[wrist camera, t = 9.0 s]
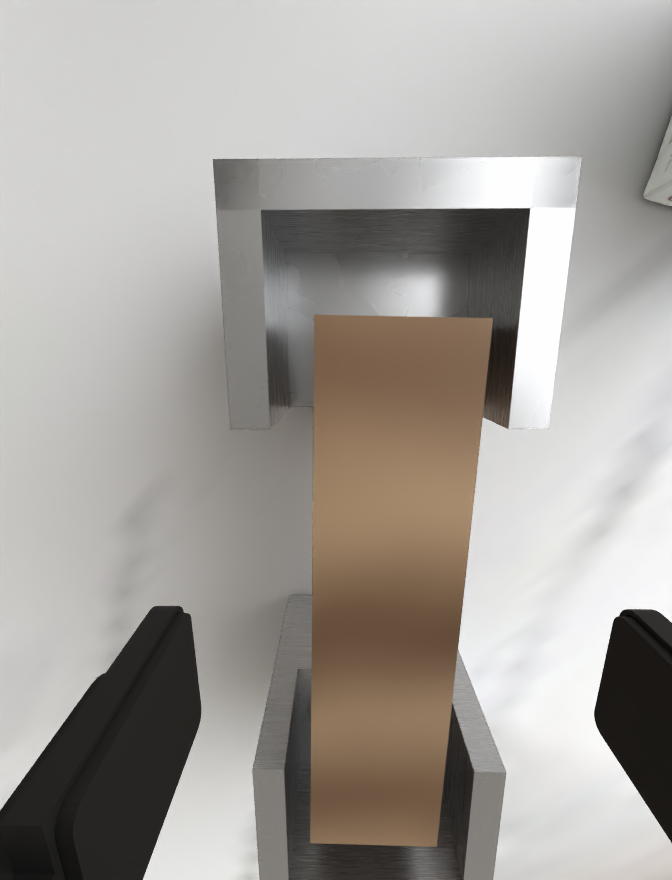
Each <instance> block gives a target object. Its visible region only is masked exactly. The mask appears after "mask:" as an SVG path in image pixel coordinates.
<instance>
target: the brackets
mask: <svg viewBox="0 0 672 880" xmlns="http://www.w3.org/2000/svg"><path fill="white" fill-rule="evenodd" d="M581 162H582V156H562V157H442V158H321V159H213V168H214V183H215V198H216V214H217V229H218V245H219V260H220V276H221V291H222V306H223V322H224V337H225V353H226V368H227V384H228V399H229V415H230V429H270V428H271V427H272V426H273V425H274V424H275V423H276V422H277V421H278V419H279V418H280V417H281V416H282V415H283V414H284V413H285V412H286V411H287V409H288V408H289V407H314V315H361V316H411V317H460V318H493V324H492V333H491V343H490V352H489V362H488V371H487V380H486V390H485V399H484V408H483V417H484V418H486V419H488V420H490V421H493V422H495V423H497V424H499V425H501V426H503V427H505V428H507V429H549V422H550V414H551V406H552V397H553V389H554V381H555V373H556V365H557V357H558V349H559V341H560V333H561V324H562V316H563V308H564V300H565V292H566V284H567V276H568V268H569V260H570V251H571V243H572V235H573V227H574V219H575V211H576V203H577V195H578V186H579V178H580V170H581ZM311 679H312V595H289V598H288V603H287V608H286V613H285V617H284V622H283V627H282V632H281V636H280V641H279V646H278V651H277V655H276V660H275V665H274V670H273V674H272V679H271V684H270V689H269V693H268V698H267V703H266V708H265V712H264V717H263V722H262V727H261V731H260V736H259V741H258V746H257V750H256V755H255V760H254V765H253V769H252V770H253V785H254V801H255V816H256V831H257V847H258V862H259V878H260V880H493V876H494V868H495V860H496V852H497V844H498V836H499V828H500V819H501V811H502V803H503V795H504V787H505V779H506V770H505V768H504V765H503V762H502V760H501V757H500V755H499V752H498V750H497V747H496V745H495V742H494V740H493V737H492V734H491V732H490V729H489V727H488V724H487V722H486V719H485V717H484V714H483V712H482V709H481V706H480V704H479V701H478V699H477V696H476V694H475V691H474V689H473V686H472V684H471V681H470V678H469V676H468V673H467V671H466V668H465V666H464V663H463V661H462V658H461V656H460V653H459V650H458V652H457V661H456V671H455V680H454V689H453V699H452V708H451V718H450V727H449V736H448V746H447V755H446V764H445V774H444V783H443V793H442V802H441V811H440V821H439V830H438V839H437V847H425V846H391V845H357V844H324V843H310V815H311Z"/></svg>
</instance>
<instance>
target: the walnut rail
mask: <svg viewBox="0 0 672 880" xmlns="http://www.w3.org/2000/svg"><path fill="white" fill-rule="evenodd" d="M492 324H493V318H460V317H411V316H361V315H314V408H313V544H312V679H311V815H310V843H324V844H357V845H391V846H425V847H437V839H438V830H439V821H440V811H441V802H442V793H443V783H444V774H445V764H446V755H447V746H448V736H449V727H450V718H451V708H452V699H453V689H454V680H455V671H456V661H457V652H458V643H459V633H460V624H461V615H462V605H463V596H464V586H465V577H466V568H467V558H468V549H469V540H470V530H471V521H472V511H473V502H474V493H475V483H476V474H477V465H478V455H479V446H480V436H481V427H482V418H483V408H484V399H485V390H486V380H487V371H488V362H489V352H490V343H491V333H492Z"/></svg>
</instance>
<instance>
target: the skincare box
mask: <svg viewBox="0 0 672 880" xmlns="http://www.w3.org/2000/svg"><path fill="white" fill-rule="evenodd" d="M643 197H644V199H647V200H650V201H653V202H656V203H660V204H663V205H667V206H672V117H671V120H670V123H669V126H668V128H667V131H666V134H665V137H664V140H663V143H662V146H661V149H660V152H659V155H658V158H657V161H656V164H655V166H654V169H653V171H652V174H651V176H650V179H649V181H648V184H647V186H646V189H645V191H644V194H643Z"/></svg>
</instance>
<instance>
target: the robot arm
mask: <svg viewBox="0 0 672 880" xmlns="http://www.w3.org/2000/svg"><path fill="white" fill-rule="evenodd" d="M594 717H595V722H596V725H597V728H598V730H599V732H600V734H601V735H602V737H603V738H604V740H605V741H606V743H607V745H608V746H609V748H610V749H611V751H612V752H613V754H614V755H615V757H616V758H617V760H618V761H619V763H620V764H621V766H622V767H623V769H624V771H625V772H626V774H627V775H628V777H629V778H630V780H631V781H632V783H633V784H634V786H635V787H636V789H637V790H638V792H639V793H640V795H641V797H642V798H643V800H644V801H645V803H646V804H647V806H648V807H649V809H650V810H651V812H652V813H653V815H654V816H655V818H656V819H657V821H658V822H659V824H660V826H661V827H662V829H663V830H664V832H665V833H666V835H667V836H668V838H669V839H670V841H671V842H672V623H671V622H670V621H669V620H668V619H667V618H665V617H664V616H663V615H662V614H661V613H659V612H658V611H655V610H641V609H627V610H623V611H622V612H621V613H620V616H619V617H616V618H615V619H614V621H613V626H612V630H611V635H610V640H609V645H608V649H607V654H606V659H605V664H604V668H603V673H602V678H601V683H600V687H599V692H598V697H597V702H596V706H595V711H594ZM200 719H201V700H200V692H199V683H198V674H197V666H196V657H195V648H194V639H193V631H192V622H191V616H190V614H188V613H184V612H183V609H182V607H180V606H155V607H153V608H152V609H151V610H150V611H149V612H148V614H147V615H146V617H145V618H144V620H143V621H142V622H141V624H140V625H139V627H138V628H137V630H136V631H135V632H134V634H133V635H132V637H131V638H130V639H129V641H128V642H127V644H126V645H125V647H124V648H123V649H122V651H121V652H120V654H119V655H118V657H117V658H116V659H115V661H114V662H113V664H112V665H111V666H110V668H109V669H108V671H107V672H106V673H104V674H102V675H101V676H99V677H98V678H97V679H96V680H95V681H94V682H93V683H92V684H91V686H90V687H89V689H88V690H87V691H86V693H85V694H84V695H83V697H82V698H81V700H80V701H79V702H78V704H77V705H76V707H75V708H74V709H73V711H72V712H71V713H70V715H69V716H68V718H67V719H66V720H65V722H64V723H63V725H62V726H61V727H60V729H59V730H58V731H57V733H56V734H55V736H54V737H53V738H52V740H51V741H50V743H49V744H48V745H47V747H46V748H45V749H44V751H43V752H42V754H41V755H40V756H39V758H38V759H37V761H36V762H35V763H34V765H33V766H32V767H31V769H30V770H29V772H28V773H27V774H26V776H25V777H24V779H23V780H22V781H21V783H20V784H19V785H18V787H17V788H16V790H15V791H14V792H13V794H12V795H11V797H10V798H9V799H8V801H7V802H6V803H5V805H4V806H3V808H2V809H1V810H0V880H143V877H144V875H145V872H146V869H147V866H148V864H149V861H150V858H151V855H152V853H153V850H154V847H155V845H156V842H157V839H158V836H159V834H160V831H161V828H162V826H163V823H164V820H165V817H166V815H167V812H168V809H169V807H170V804H171V801H172V798H173V796H174V793H175V790H176V787H177V785H178V782H179V779H180V777H181V774H182V771H183V768H184V766H185V763H186V760H187V758H188V755H189V752H190V749H191V747H192V744H193V741H194V738H195V736H196V733H197V730H198V727H199V724H200Z"/></svg>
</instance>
